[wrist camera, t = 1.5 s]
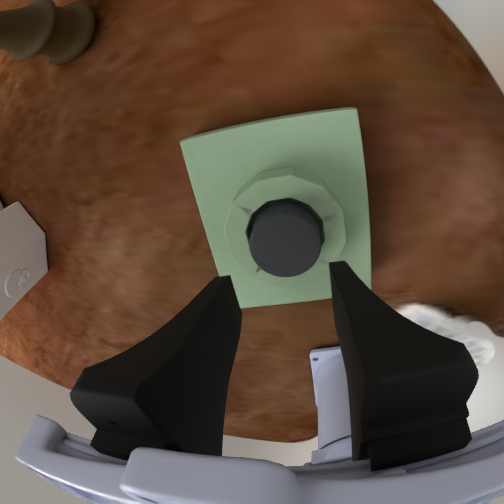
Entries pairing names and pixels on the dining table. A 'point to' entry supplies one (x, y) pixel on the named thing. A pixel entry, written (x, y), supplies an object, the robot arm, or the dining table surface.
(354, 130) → the green button box
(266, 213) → the push button
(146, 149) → the dining table surface
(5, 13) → the kendama
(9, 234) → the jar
